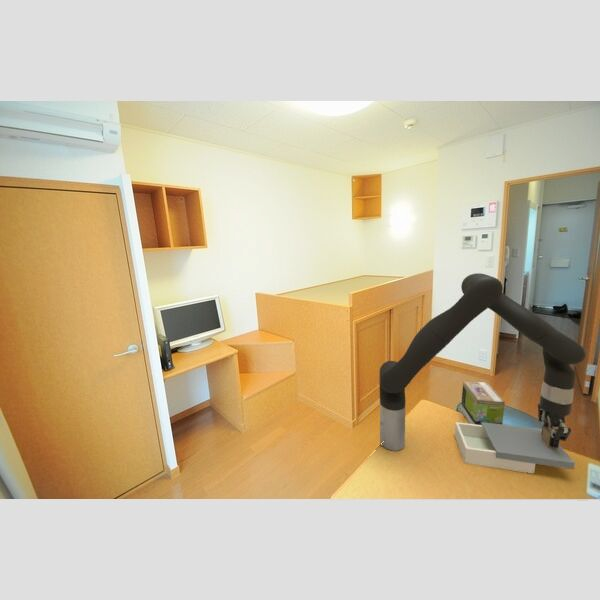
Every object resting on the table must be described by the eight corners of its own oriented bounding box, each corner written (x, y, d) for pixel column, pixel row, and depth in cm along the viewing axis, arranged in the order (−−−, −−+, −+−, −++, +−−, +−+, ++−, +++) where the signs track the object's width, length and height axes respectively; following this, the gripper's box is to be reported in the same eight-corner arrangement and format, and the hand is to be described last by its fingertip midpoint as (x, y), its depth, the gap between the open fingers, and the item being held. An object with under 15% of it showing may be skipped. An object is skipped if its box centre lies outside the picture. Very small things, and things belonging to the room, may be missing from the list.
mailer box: (464, 463, 93) (466, 448, 92) (454, 435, 106) (455, 422, 105) (534, 473, 87) (536, 458, 86) (514, 443, 100) (515, 429, 99)
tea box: (502, 434, 105) (506, 401, 102) (474, 432, 107) (476, 400, 104) (484, 411, 119) (487, 381, 116) (460, 409, 121) (462, 380, 118)
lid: (496, 458, 89) (498, 439, 87) (480, 427, 103) (481, 410, 102) (573, 469, 83) (577, 449, 81) (545, 435, 97) (547, 417, 96)
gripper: (530, 384, 94) (525, 426, 98) (555, 408, 81) (548, 455, 85) (557, 386, 92) (550, 429, 96) (586, 411, 79) (577, 459, 83)
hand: (549, 441), depth 90 cm, fingers closed on lid, 4 cm apart
